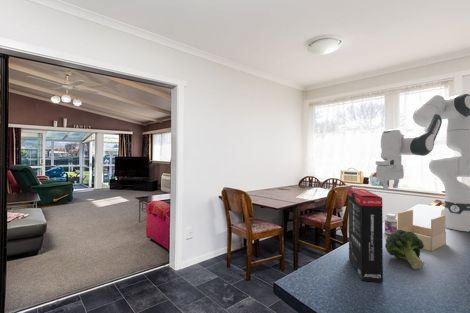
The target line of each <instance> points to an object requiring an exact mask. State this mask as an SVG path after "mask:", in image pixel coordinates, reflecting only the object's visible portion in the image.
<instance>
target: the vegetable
mask: <svg viewBox="0 0 470 313" xmlns="http://www.w3.org/2000/svg"><path fill="white" fill-rule="evenodd" d="M384 246H385V249H386V253H389V255H390V256H394V257H395V258H396V259H398V260H399V259H401V258H402V259H404V260H407V261H408V263H409V264H410V266H411V268H412V269H413V270H417V271H418V270H420V269H422V268H423V267H424V265H425V262H424V261H423V260H421V250H424V249H423V248H424V245H423V242H422V240H420V239H419V238H418V237H417V236H416V234H414V233H413V232H406V231H403V230H397V231H396V232H394V233H391V234H388V236H387V237H386V238H385V245H384Z"/></svg>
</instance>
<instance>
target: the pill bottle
mask: <svg viewBox="0 0 470 313" xmlns="http://www.w3.org/2000/svg"><path fill="white" fill-rule="evenodd" d="M396 216H397V215H396V214H393V213H386V217H385V218H384V233H385V234H386V235H390V234H391V233H394V232H396V231H397V229H398V219H397V217H396Z"/></svg>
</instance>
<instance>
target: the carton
mask: <svg viewBox="0 0 470 313" xmlns="http://www.w3.org/2000/svg"><path fill="white" fill-rule="evenodd" d="M445 223H446V215H443V216H441V215H440V216H437V217H434V218H431V219H430V226H431V227H430V228H429V227H427V226H426V227H425V226H421V225H416V224H414V210H413V209H409V210H405V211H401V212H398V213H397V230H403V231H406V232H413V233H414V234H416V236H417V237H418V238H419V239H420V240H422V242H423V245H424V248H423V249H422V250H426V251H429V252H430V251H431V252H433V251H435V250H437V249H439V248H441V247H443V246H445V245H446V244H447V232H446V227H445Z"/></svg>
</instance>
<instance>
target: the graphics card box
mask: <svg viewBox="0 0 470 313" xmlns="http://www.w3.org/2000/svg"><path fill="white" fill-rule="evenodd" d="M347 196H348V200H347V201H348V208H347V209H348V259H349V261H350V262H351V264H352V267H353V268H354V269H355V272H356V274H357V275H358V278H360V280H361V281H363V282H365V281H366V282H374V283H384V271H383V270H384V266H383V262H384V261H383V260H384V257H383V256H384V255H383V252H384V250H383V249H384V248H383V246H384V245H383V243H384V242H383V241H384V240H383V236H384V235H383V231H384V228H383V223H384V222H383V197H382V196H379V195H377V194H376V193H373V192H371V191H369V190H367V189H365V188H348V192H347Z"/></svg>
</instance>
